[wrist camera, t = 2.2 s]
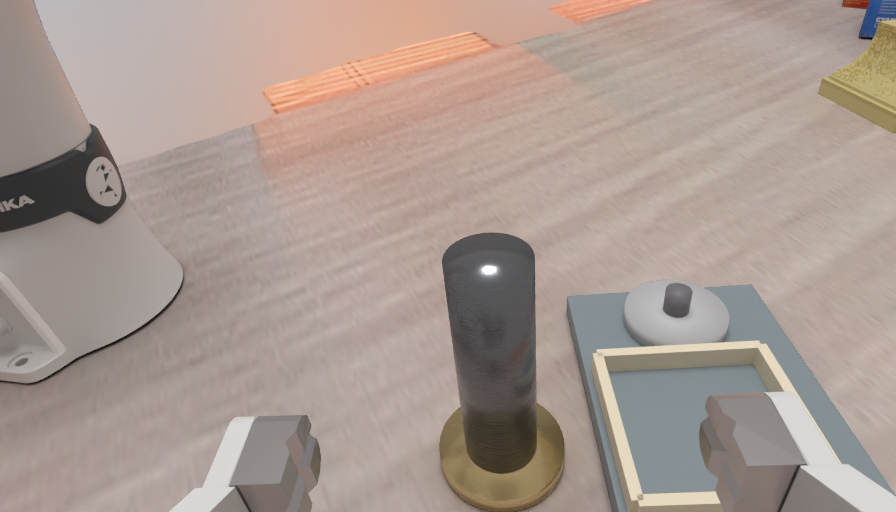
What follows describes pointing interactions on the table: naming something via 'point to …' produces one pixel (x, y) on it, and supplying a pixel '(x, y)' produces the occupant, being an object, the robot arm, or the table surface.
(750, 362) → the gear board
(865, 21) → the toner cartridge box
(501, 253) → the stamp
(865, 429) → the table surface
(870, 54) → the thinker statue
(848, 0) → the medicine box
